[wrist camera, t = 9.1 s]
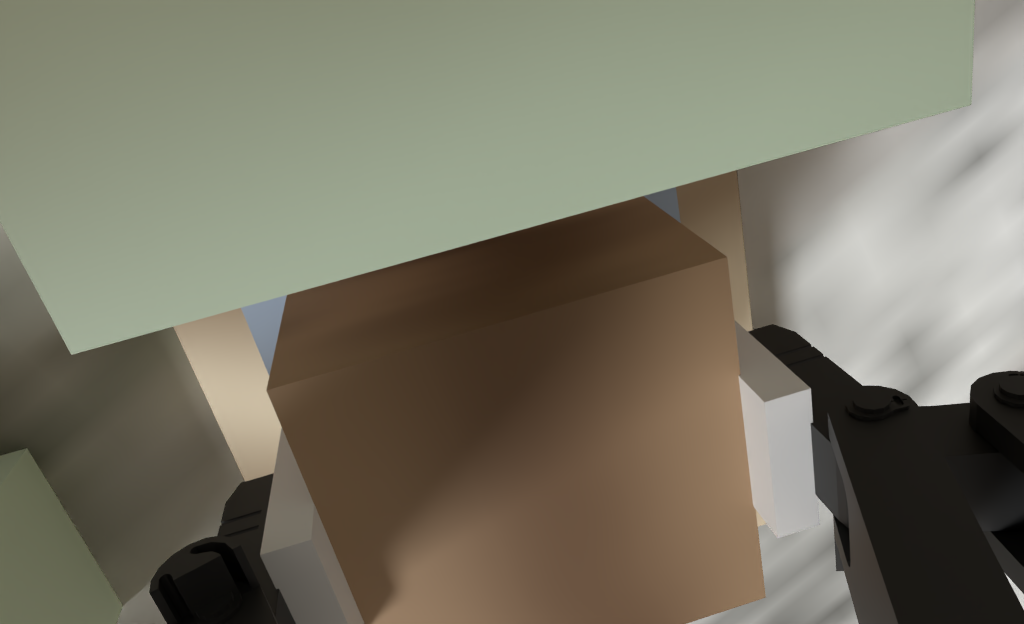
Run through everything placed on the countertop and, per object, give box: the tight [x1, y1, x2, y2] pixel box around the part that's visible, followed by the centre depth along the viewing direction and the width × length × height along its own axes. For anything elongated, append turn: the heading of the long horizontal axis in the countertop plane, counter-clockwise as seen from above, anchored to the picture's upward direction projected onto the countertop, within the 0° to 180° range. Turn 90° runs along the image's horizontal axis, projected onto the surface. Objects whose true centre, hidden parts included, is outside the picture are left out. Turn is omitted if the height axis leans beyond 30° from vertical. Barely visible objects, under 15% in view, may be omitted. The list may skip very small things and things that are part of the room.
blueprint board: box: [173, 170, 766, 526], centre depth 18 cm, size 22×13×2 cm, turn 13°
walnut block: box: [266, 196, 765, 624], centre depth 15 cm, size 7×7×6 cm
